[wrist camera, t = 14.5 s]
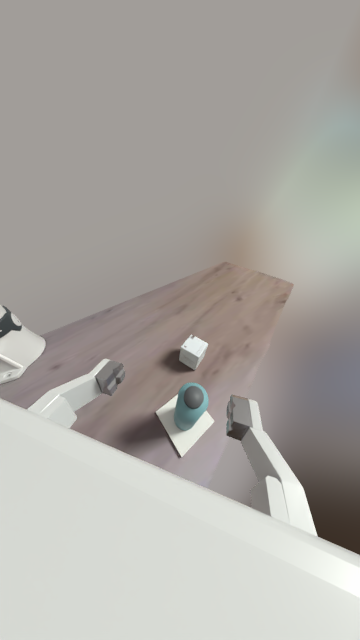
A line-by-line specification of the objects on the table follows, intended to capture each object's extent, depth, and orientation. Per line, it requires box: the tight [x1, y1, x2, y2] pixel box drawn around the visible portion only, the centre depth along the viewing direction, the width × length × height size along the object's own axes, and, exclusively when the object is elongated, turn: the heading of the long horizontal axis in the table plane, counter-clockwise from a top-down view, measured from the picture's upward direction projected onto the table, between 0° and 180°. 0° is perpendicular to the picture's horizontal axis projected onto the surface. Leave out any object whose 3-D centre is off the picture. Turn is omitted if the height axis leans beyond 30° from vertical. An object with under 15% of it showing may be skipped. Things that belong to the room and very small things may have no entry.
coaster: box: [156, 394, 214, 457], centre depth 35 cm, size 10×10×1 cm
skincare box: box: [179, 335, 208, 370], centre depth 44 cm, size 6×6×7 cm
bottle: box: [174, 383, 208, 431], centre depth 29 cm, size 5×5×15 cm
